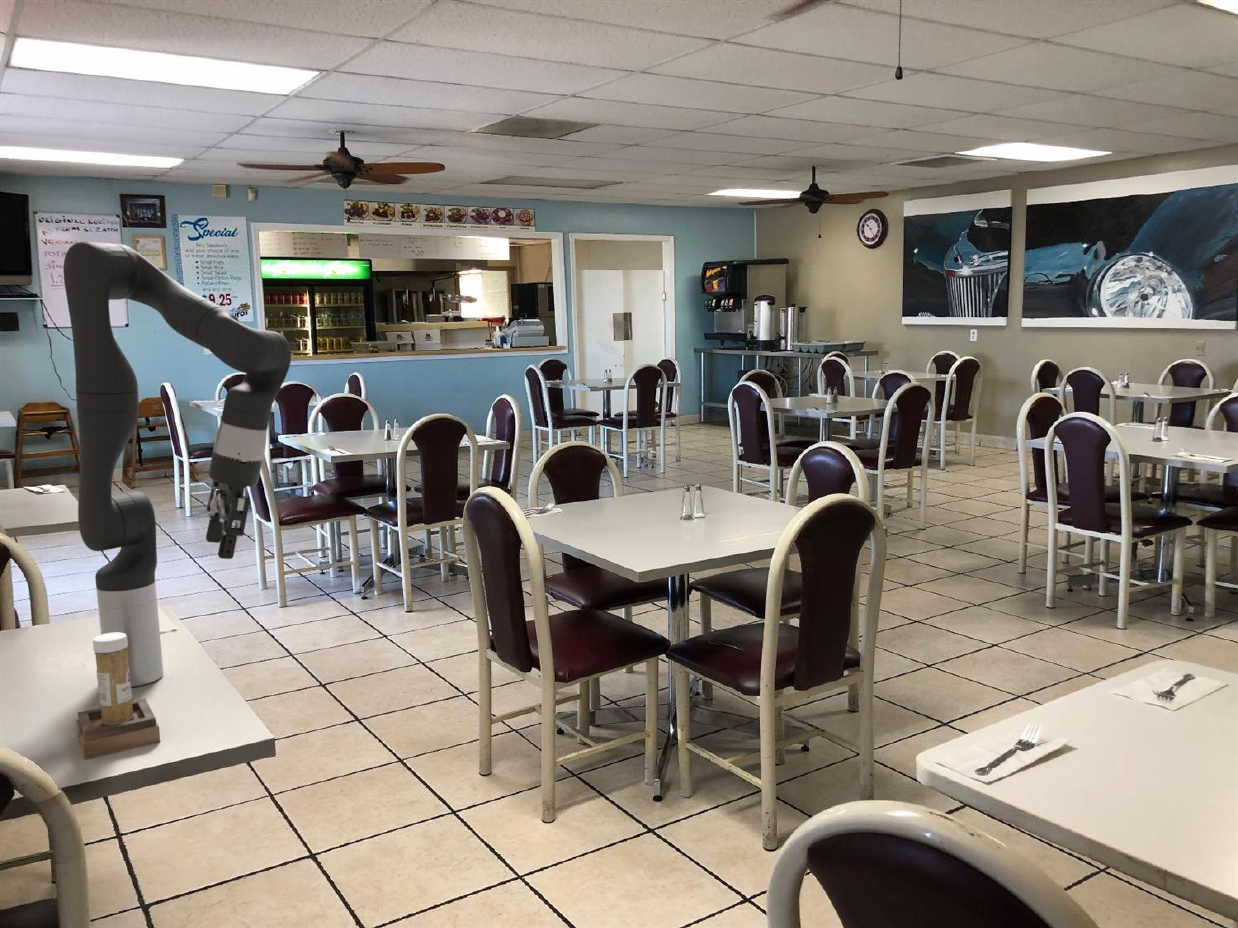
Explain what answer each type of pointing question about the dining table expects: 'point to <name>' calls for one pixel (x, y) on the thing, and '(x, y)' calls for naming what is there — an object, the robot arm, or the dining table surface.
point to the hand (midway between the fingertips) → (218, 549)
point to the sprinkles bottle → (113, 678)
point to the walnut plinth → (116, 731)
